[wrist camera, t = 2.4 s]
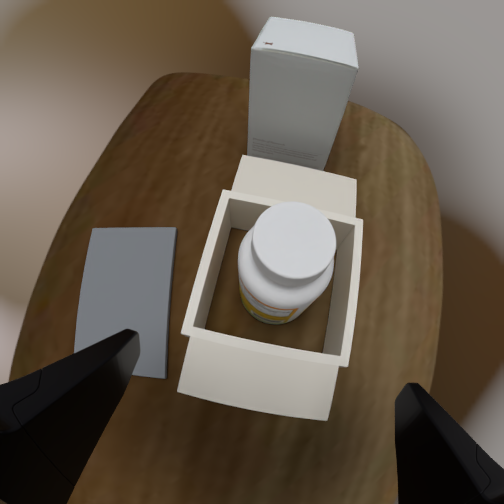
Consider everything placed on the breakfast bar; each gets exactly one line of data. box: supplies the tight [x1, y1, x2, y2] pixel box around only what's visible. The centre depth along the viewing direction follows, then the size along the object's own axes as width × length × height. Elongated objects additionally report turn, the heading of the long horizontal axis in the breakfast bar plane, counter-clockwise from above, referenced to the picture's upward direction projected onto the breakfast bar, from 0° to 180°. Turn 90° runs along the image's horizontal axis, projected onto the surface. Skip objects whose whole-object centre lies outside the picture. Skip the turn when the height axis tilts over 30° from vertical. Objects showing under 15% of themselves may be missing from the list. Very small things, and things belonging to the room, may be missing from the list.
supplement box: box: [247, 17, 359, 171], centre depth 22 cm, size 7×7×13 cm
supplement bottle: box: [238, 201, 336, 324], centre depth 18 cm, size 5×5×10 cm
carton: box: [177, 155, 363, 421], centre depth 20 cm, size 17×10×4 cm, turn 168°
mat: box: [74, 227, 177, 379], centre depth 21 cm, size 12×8×1 cm, turn 0°
